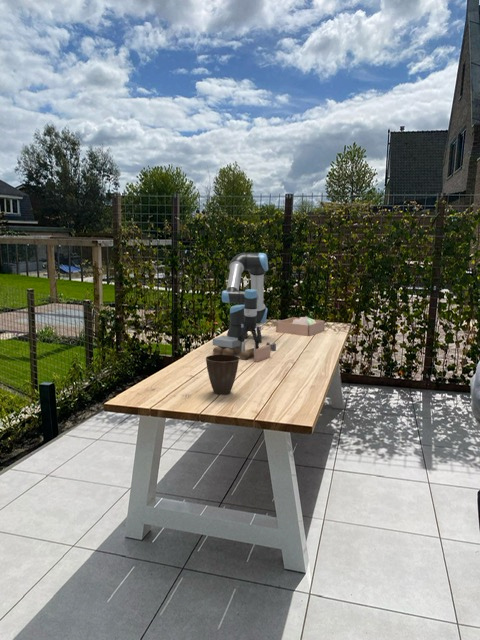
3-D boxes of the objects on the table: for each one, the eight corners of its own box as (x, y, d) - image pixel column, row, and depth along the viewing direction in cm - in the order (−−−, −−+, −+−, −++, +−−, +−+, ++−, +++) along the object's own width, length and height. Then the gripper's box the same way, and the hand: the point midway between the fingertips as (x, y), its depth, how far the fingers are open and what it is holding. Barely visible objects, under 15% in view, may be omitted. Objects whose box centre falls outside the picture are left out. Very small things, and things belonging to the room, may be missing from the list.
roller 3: (252, 354, 301) (253, 346, 300) (259, 355, 299) (260, 348, 298) (238, 358, 288) (239, 351, 287) (245, 360, 285) (246, 352, 284)
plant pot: (198, 391, 223) (199, 357, 220) (222, 385, 233) (223, 352, 231) (220, 399, 212) (221, 363, 210) (245, 392, 223) (246, 358, 220)
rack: (267, 349, 316) (267, 342, 315) (275, 350, 313) (276, 343, 312) (255, 353, 302) (255, 346, 302) (263, 355, 299) (264, 347, 299)
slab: (223, 342, 309) (223, 335, 308) (242, 344, 302) (242, 338, 301) (212, 345, 299) (212, 338, 298) (231, 348, 292) (232, 341, 291)
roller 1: (227, 350, 310) (227, 342, 310) (234, 351, 308) (234, 343, 307) (213, 355, 297) (212, 346, 296) (220, 356, 294) (220, 347, 294)
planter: (292, 326, 405) (293, 317, 403) (324, 330, 391) (324, 320, 389) (276, 332, 379) (276, 321, 378) (308, 336, 365) (309, 325, 364)
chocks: (227, 350, 310) (227, 349, 310) (259, 355, 299) (259, 354, 299) (213, 354, 297) (213, 354, 297) (245, 360, 285) (246, 359, 285)
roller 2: (236, 351, 307) (236, 343, 306) (243, 353, 304) (243, 345, 304) (222, 356, 294) (222, 347, 293) (229, 358, 291) (229, 349, 290)
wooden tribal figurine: (285, 322, 395) (314, 314, 390) (290, 340, 393) (319, 332, 387) (282, 320, 381) (312, 312, 376) (287, 338, 379) (317, 330, 374)
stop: (267, 356, 296) (267, 345, 295) (270, 356, 295) (270, 345, 294) (254, 361, 282) (254, 349, 281) (257, 362, 281) (257, 350, 280)
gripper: (232, 314, 291) (231, 352, 295) (262, 318, 281) (261, 357, 284) (238, 313, 298) (237, 350, 301) (268, 316, 287) (267, 354, 291)
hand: (249, 353), depth 293 cm, fingers open, 8 cm apart
